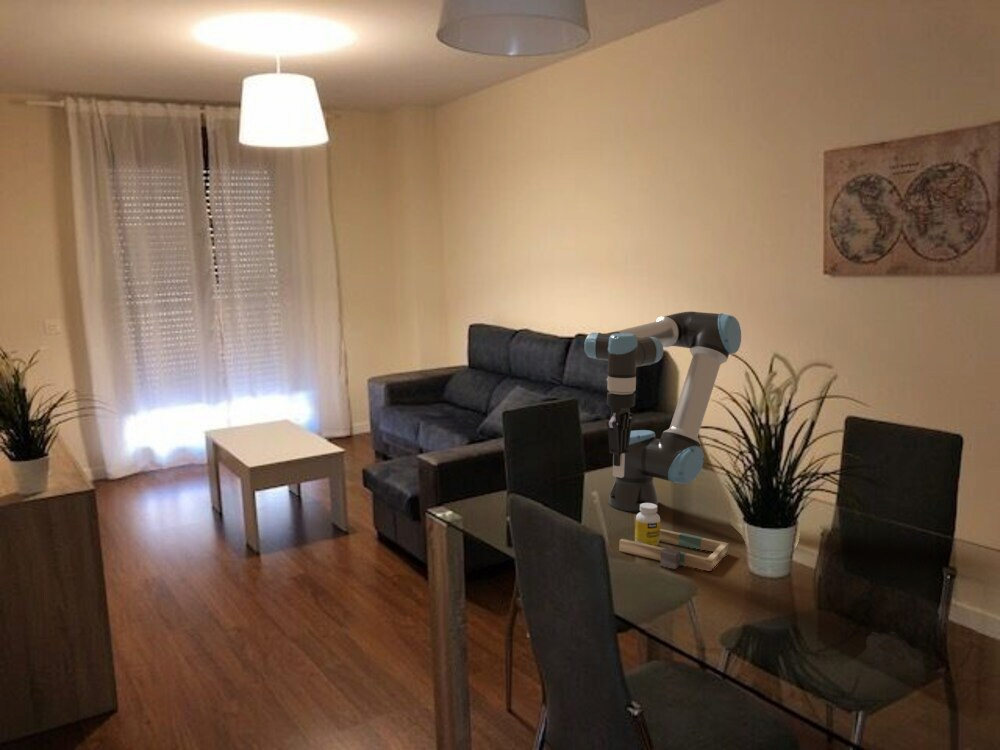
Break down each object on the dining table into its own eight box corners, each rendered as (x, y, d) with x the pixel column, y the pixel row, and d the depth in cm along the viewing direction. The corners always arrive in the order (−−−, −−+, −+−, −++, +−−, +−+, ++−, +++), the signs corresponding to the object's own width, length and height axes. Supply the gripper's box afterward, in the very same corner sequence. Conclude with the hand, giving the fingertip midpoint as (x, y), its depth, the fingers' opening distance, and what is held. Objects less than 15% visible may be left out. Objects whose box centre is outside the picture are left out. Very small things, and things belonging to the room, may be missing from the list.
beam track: (640, 534, 230) (640, 521, 229) (727, 553, 217) (728, 539, 216) (613, 555, 215) (614, 540, 215) (706, 577, 202) (706, 562, 201)
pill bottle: (641, 552, 217) (642, 510, 215) (630, 543, 224) (632, 502, 221) (663, 549, 219) (665, 508, 217) (652, 541, 225) (654, 500, 223)
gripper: (618, 386, 226) (615, 468, 230) (597, 394, 215) (595, 480, 219) (643, 389, 222) (640, 472, 226) (624, 397, 211) (621, 484, 215)
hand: (618, 476), depth 223 cm, fingers closed
